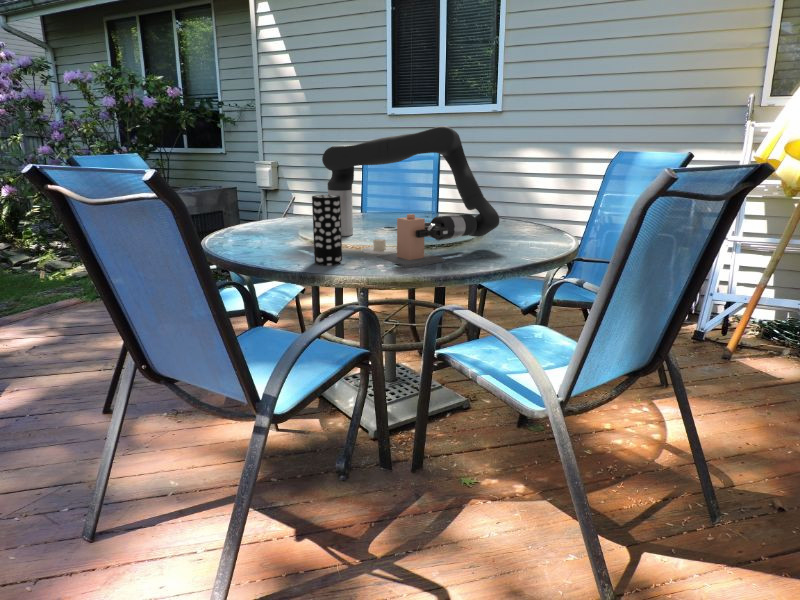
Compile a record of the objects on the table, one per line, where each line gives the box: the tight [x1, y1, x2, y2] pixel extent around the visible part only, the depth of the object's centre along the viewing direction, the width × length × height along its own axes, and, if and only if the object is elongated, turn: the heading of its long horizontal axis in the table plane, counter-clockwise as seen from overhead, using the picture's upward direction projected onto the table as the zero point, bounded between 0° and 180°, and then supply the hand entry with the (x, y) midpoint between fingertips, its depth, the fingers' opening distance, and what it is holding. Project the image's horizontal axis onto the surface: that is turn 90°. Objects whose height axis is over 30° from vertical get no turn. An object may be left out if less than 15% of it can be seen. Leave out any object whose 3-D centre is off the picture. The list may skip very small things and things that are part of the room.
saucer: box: [361, 238, 397, 255], centre depth 185 cm, size 12×12×4 cm
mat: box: [376, 252, 445, 269], centre depth 174 cm, size 15×15×1 cm
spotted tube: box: [311, 194, 343, 267], centre depth 168 cm, size 8×8×20 cm
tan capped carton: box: [396, 213, 426, 260], centre depth 172 cm, size 6×6×13 cm
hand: (407, 232), depth 171 cm, fingers open, 8 cm apart
